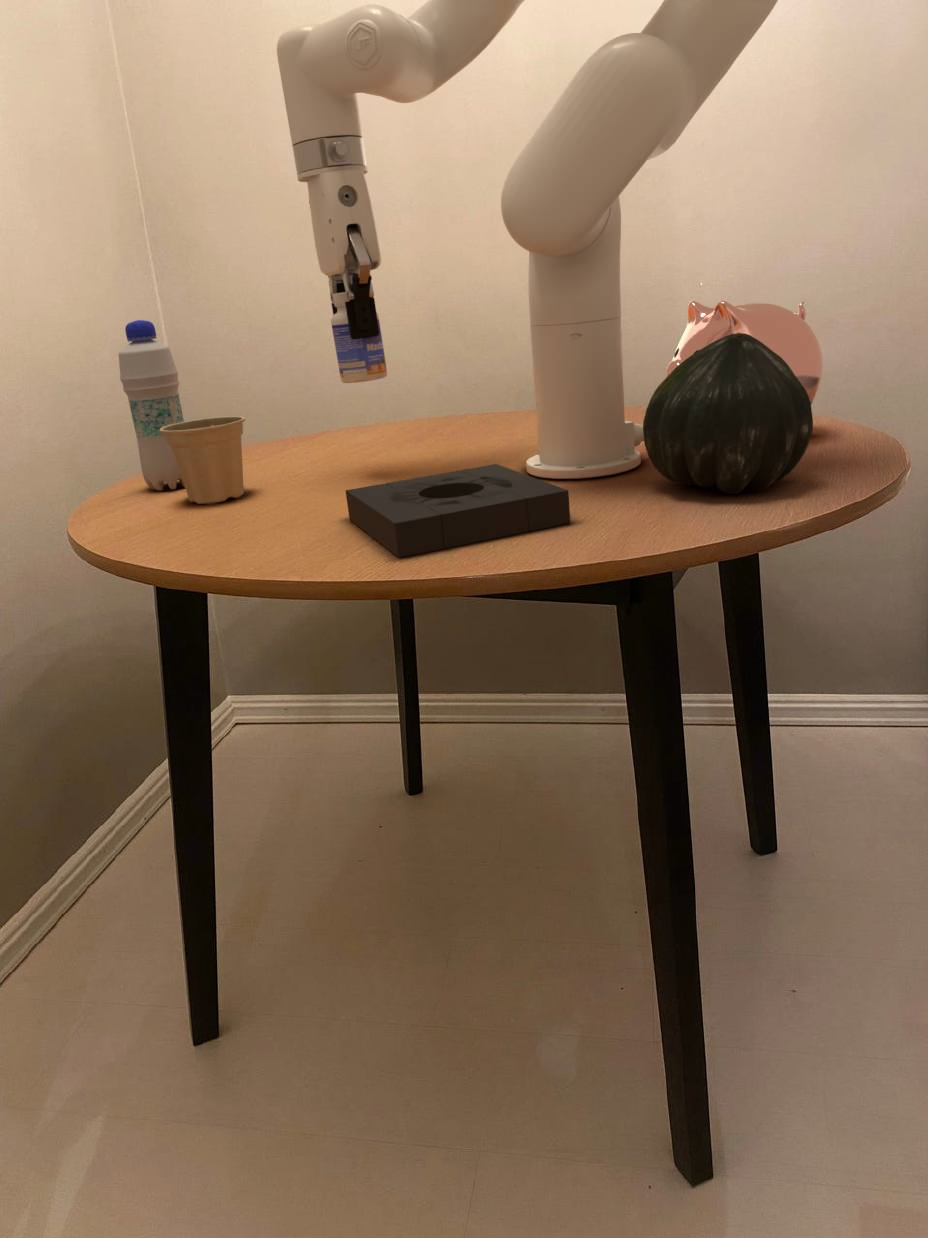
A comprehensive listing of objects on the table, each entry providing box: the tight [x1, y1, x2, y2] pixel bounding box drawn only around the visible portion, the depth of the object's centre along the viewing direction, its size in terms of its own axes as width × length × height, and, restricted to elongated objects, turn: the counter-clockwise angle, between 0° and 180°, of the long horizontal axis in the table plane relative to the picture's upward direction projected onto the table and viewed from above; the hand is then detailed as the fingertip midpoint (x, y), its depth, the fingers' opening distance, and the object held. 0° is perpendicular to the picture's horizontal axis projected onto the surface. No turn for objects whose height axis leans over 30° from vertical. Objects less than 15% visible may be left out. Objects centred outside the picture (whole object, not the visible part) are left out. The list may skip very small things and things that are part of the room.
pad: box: [345, 463, 571, 559], centre depth 87 cm, size 16×16×3 cm
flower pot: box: [160, 415, 246, 505], centre depth 107 cm, size 9×9×9 cm
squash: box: [642, 333, 814, 495], centre depth 88 cm, size 14×15×15 cm
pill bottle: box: [330, 292, 388, 384], centre depth 106 cm, size 5×5×10 cm
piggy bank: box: [665, 300, 823, 437], centre depth 108 cm, size 15×18×16 cm
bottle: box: [117, 319, 185, 492], centre depth 114 cm, size 7×7×20 cm
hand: (357, 335), depth 106 cm, fingers closed on pill bottle, 5 cm apart
